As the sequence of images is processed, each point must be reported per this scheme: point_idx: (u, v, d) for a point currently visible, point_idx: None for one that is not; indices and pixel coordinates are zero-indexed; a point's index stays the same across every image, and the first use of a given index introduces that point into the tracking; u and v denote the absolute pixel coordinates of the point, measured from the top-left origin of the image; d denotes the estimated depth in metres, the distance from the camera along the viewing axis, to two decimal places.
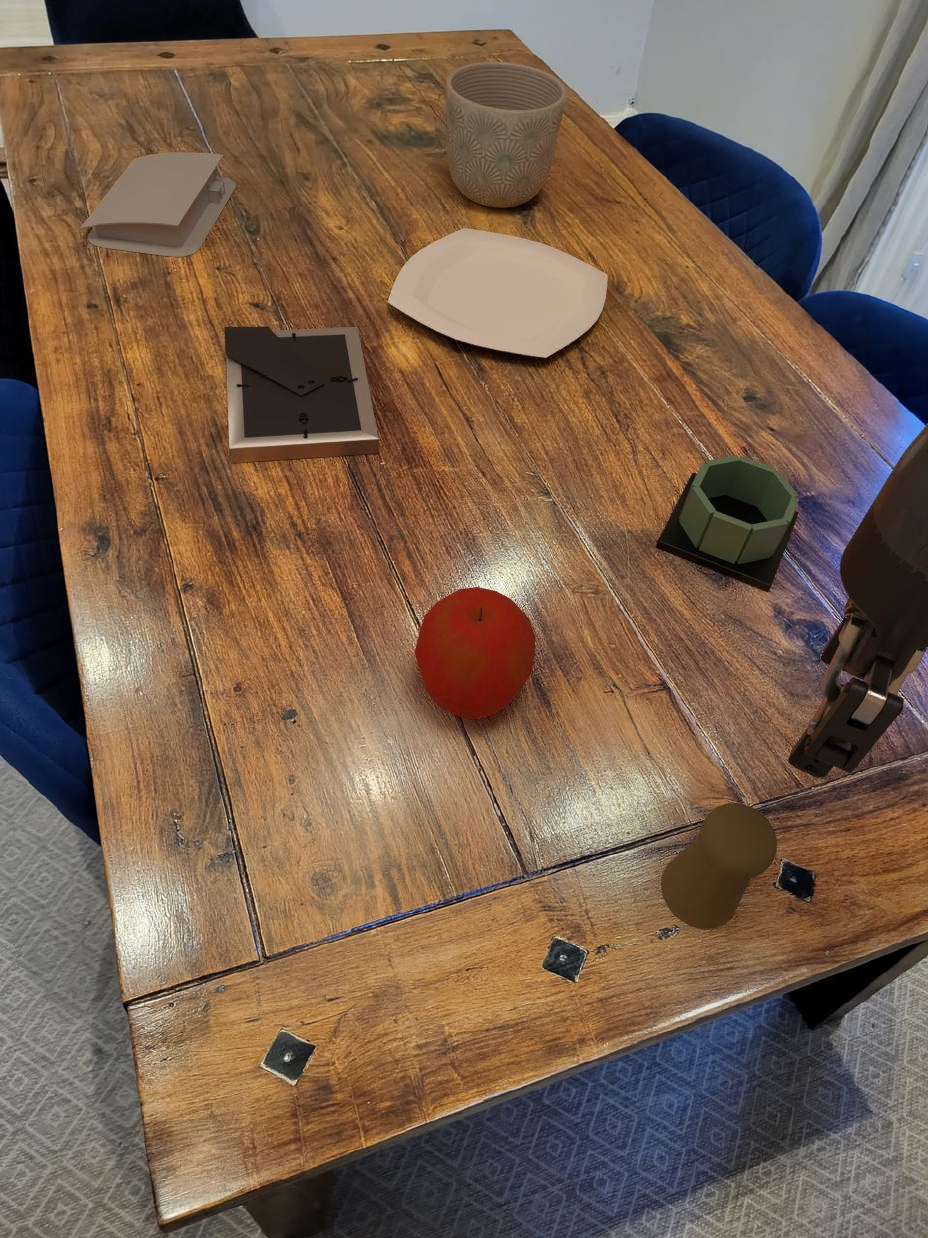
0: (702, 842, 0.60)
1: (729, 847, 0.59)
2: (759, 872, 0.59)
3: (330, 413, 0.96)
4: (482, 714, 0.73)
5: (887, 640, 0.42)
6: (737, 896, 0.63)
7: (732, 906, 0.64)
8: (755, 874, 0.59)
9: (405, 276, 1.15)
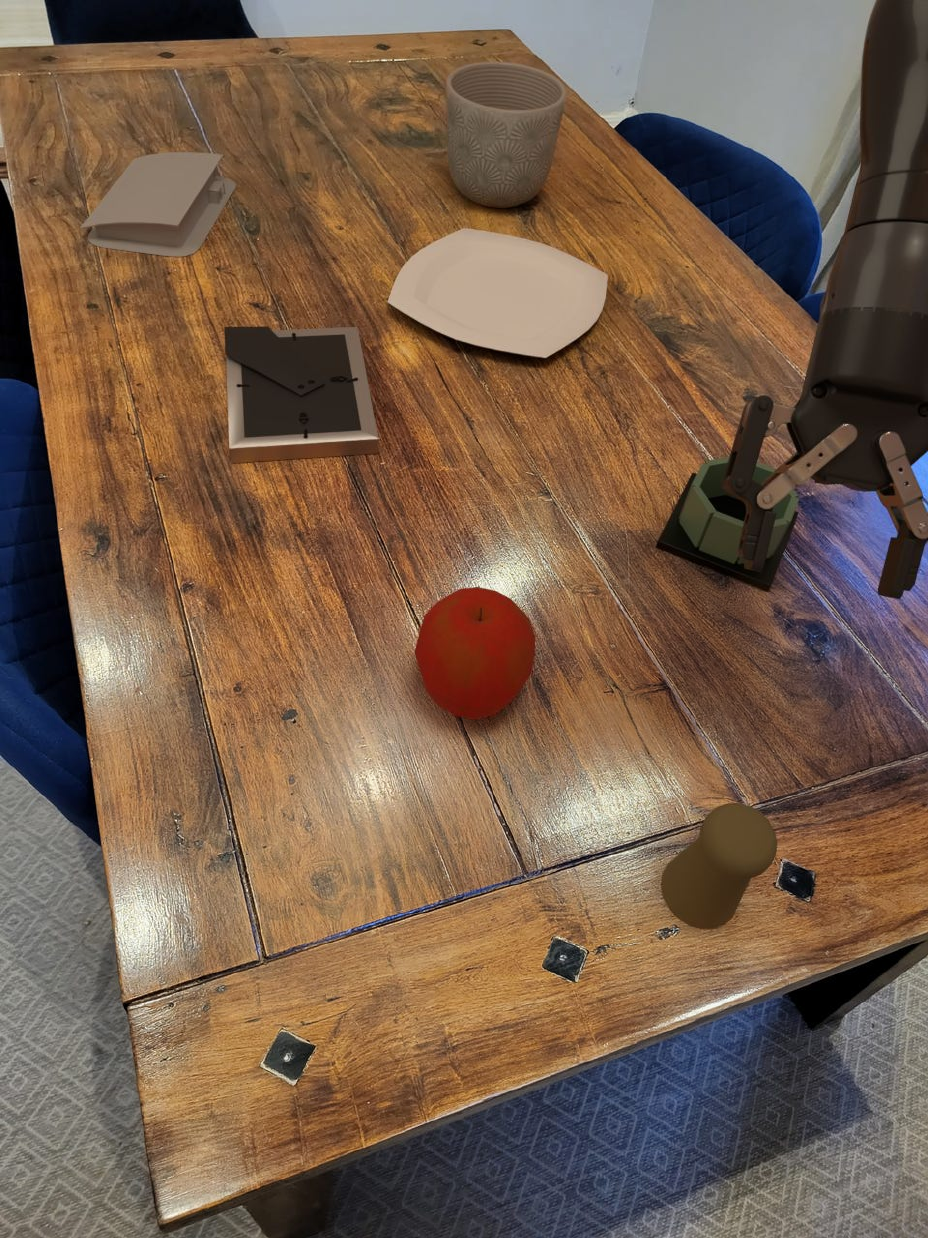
0: (702, 842, 0.60)
1: (729, 847, 0.59)
2: (759, 872, 0.59)
3: (330, 413, 0.96)
4: (482, 714, 0.73)
5: (802, 391, 0.54)
6: (737, 896, 0.63)
7: (732, 906, 0.64)
8: (755, 874, 0.59)
9: (405, 276, 1.15)
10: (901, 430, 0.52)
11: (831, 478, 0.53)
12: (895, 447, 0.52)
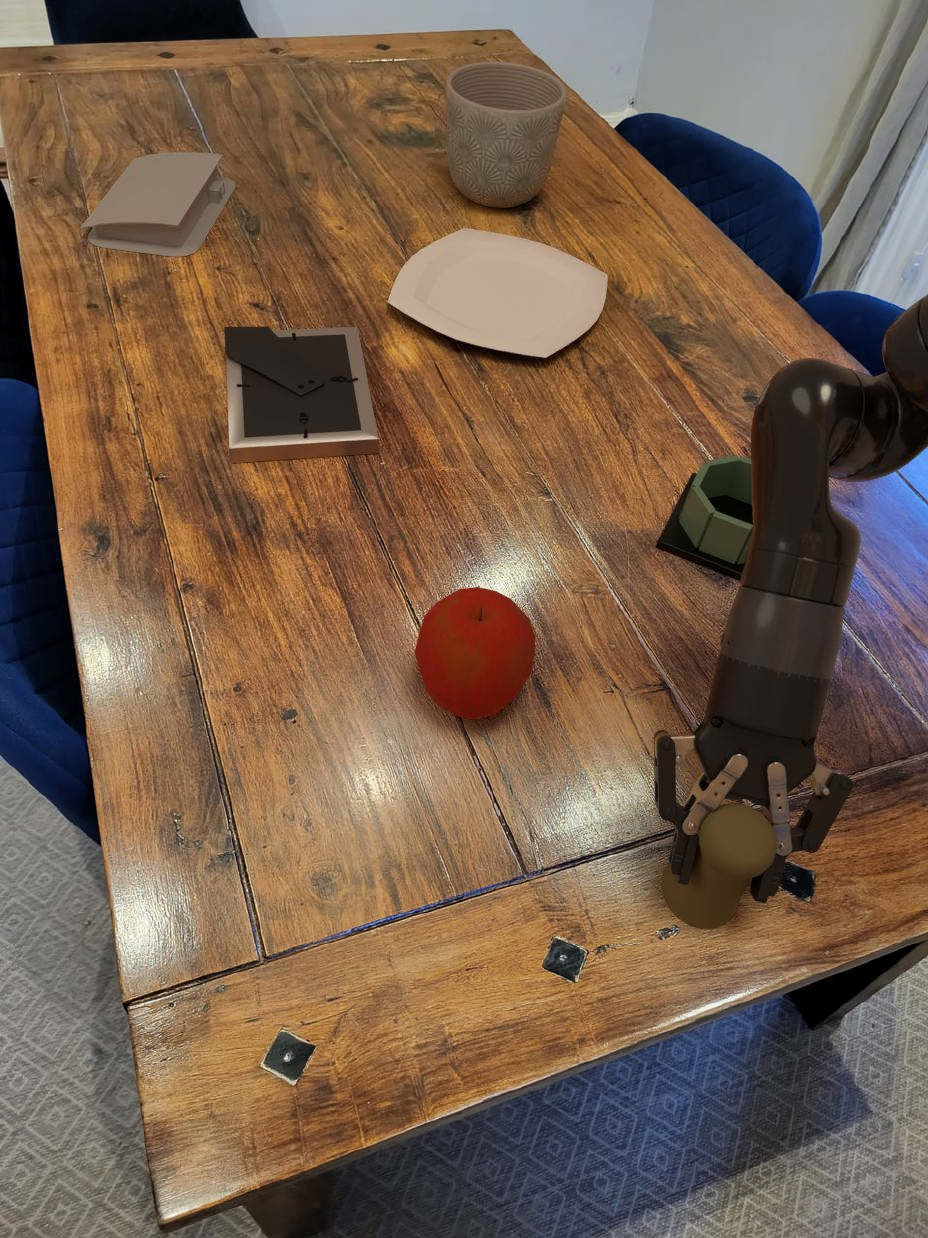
0: (702, 842, 0.60)
1: (729, 847, 0.59)
2: (759, 872, 0.59)
3: (330, 413, 0.96)
4: (482, 714, 0.73)
5: None
6: (737, 896, 0.63)
7: (732, 906, 0.64)
8: (755, 874, 0.59)
9: (405, 276, 1.15)
10: (787, 757, 0.60)
11: (728, 795, 0.61)
12: (781, 775, 0.60)
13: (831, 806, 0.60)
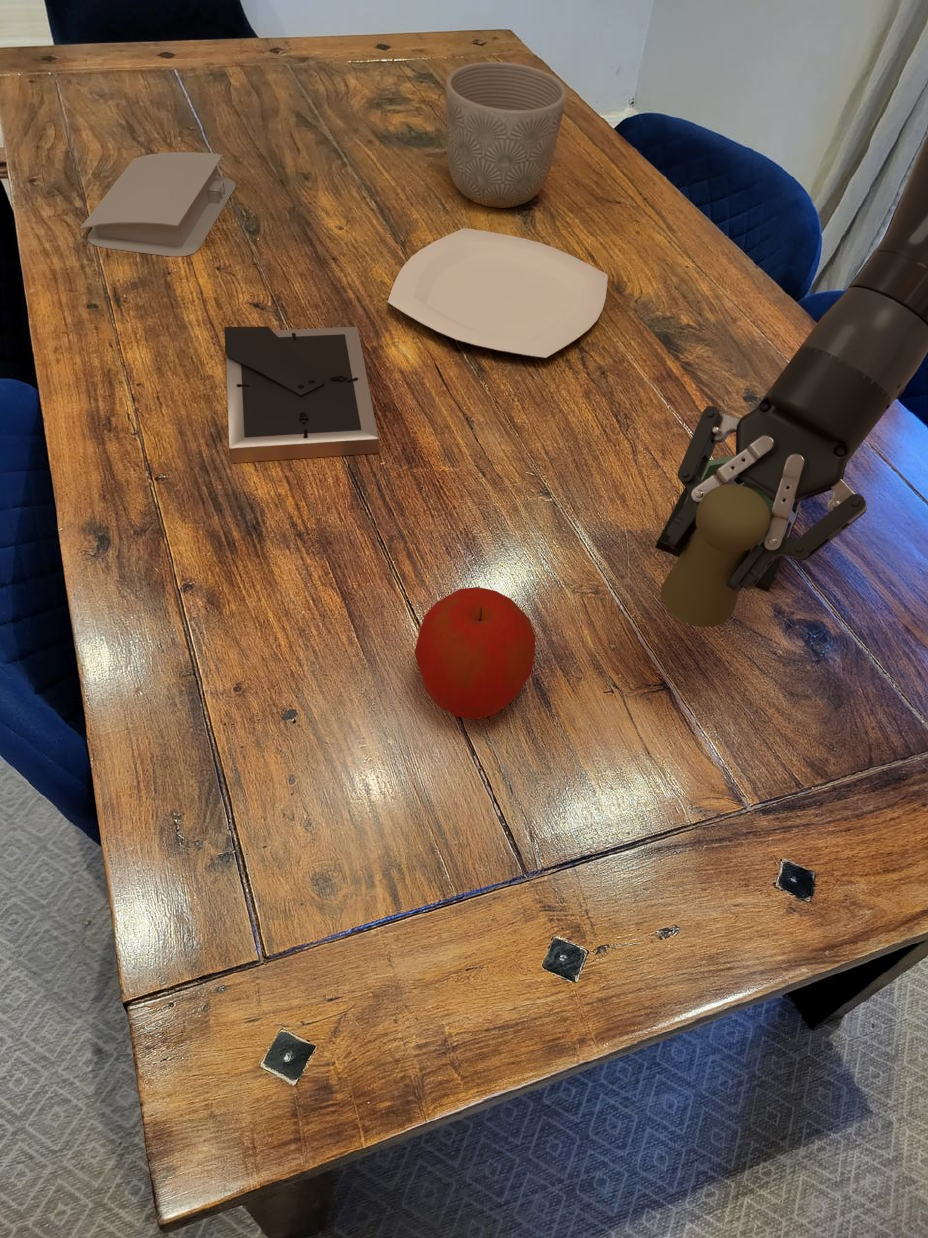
0: (699, 503, 0.64)
1: (715, 504, 0.62)
2: (733, 539, 0.62)
3: (330, 413, 0.96)
4: (482, 714, 0.73)
5: None
6: (715, 584, 0.66)
7: (710, 599, 0.67)
8: (728, 539, 0.62)
9: (405, 276, 1.15)
10: (814, 459, 0.62)
11: (745, 477, 0.64)
12: (797, 467, 0.61)
13: (834, 518, 0.61)
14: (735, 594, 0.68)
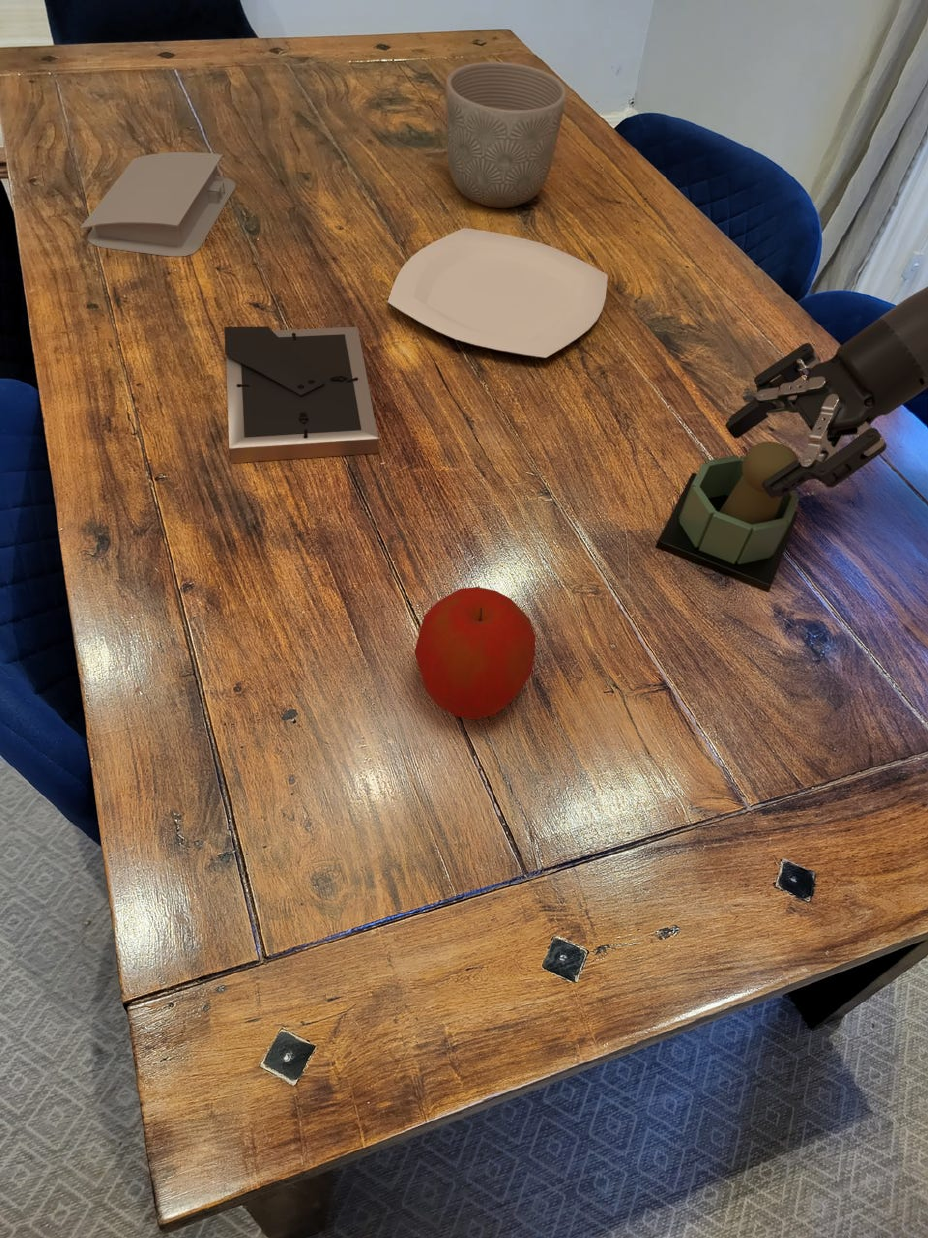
0: None
1: (757, 449, 0.83)
2: (758, 476, 0.82)
3: (330, 413, 0.96)
4: (482, 714, 0.73)
5: None
6: (743, 515, 0.86)
7: None
8: (755, 476, 0.82)
9: (405, 276, 1.15)
10: (848, 403, 0.78)
11: (797, 406, 0.81)
12: (831, 404, 0.78)
13: (852, 446, 0.76)
14: None
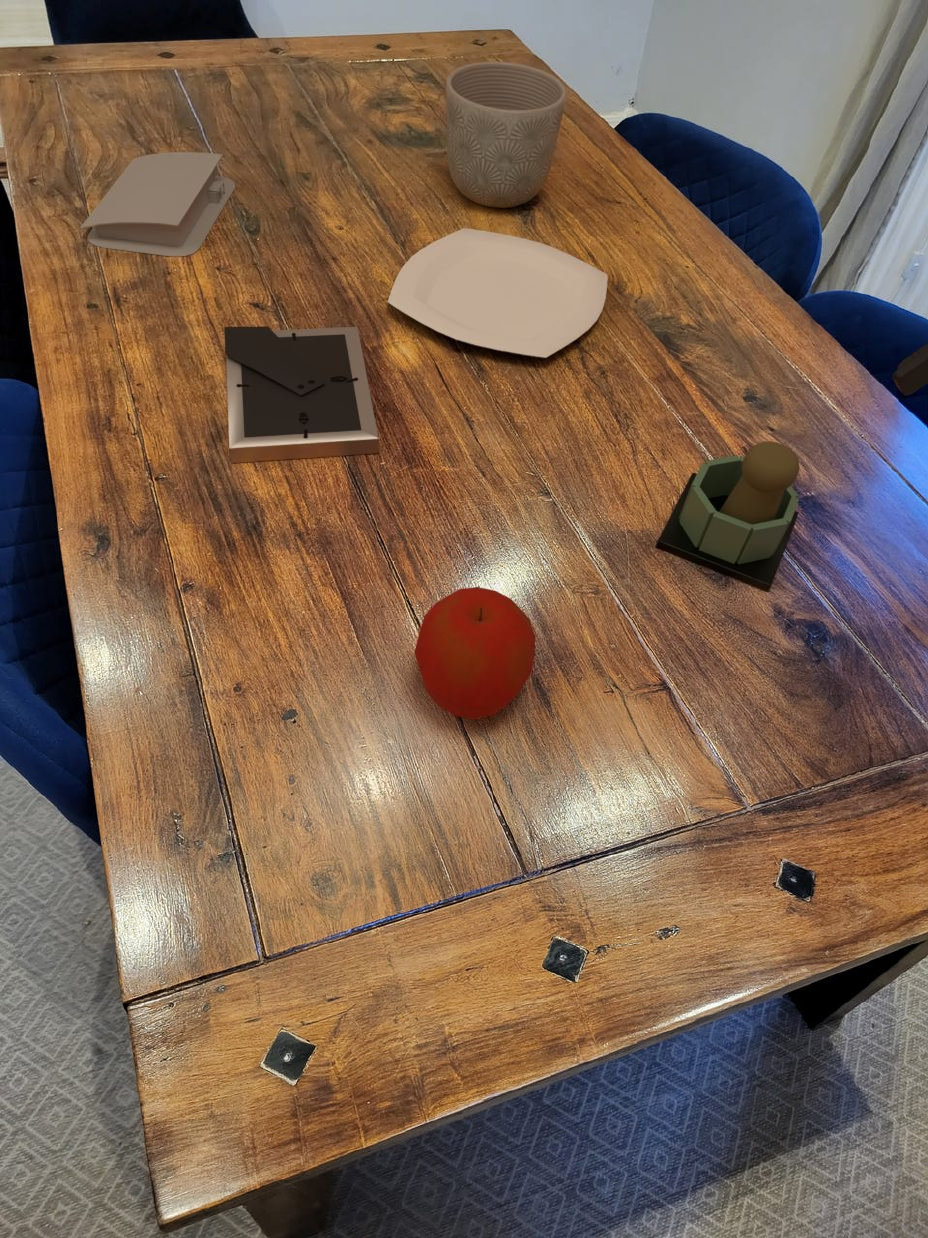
0: None
1: (757, 449, 0.83)
2: (757, 476, 0.82)
3: (330, 413, 0.96)
4: (482, 714, 0.73)
5: None
6: (743, 515, 0.86)
7: None
8: (754, 475, 0.82)
9: (405, 276, 1.15)
10: None
11: None
12: None
13: None
14: None
